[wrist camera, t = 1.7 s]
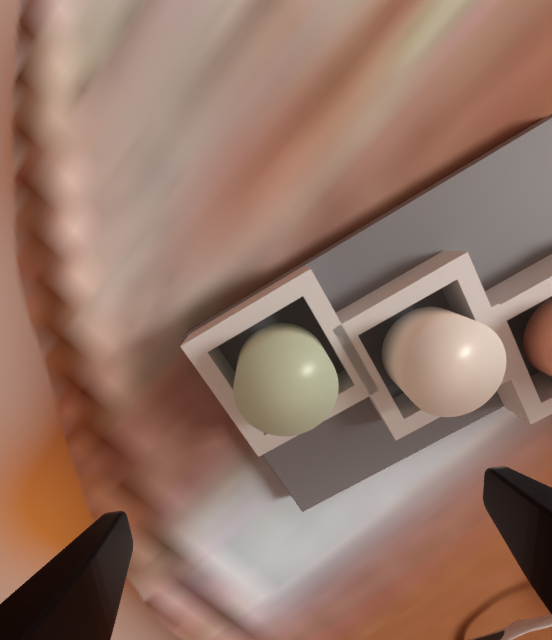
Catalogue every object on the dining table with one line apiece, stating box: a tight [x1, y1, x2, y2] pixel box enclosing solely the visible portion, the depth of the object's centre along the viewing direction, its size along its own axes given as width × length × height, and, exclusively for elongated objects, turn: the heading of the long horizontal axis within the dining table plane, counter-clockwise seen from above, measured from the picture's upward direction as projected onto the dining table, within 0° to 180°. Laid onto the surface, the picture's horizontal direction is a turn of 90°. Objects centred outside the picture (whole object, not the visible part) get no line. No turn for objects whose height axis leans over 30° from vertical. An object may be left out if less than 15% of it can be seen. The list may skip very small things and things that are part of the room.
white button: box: [382, 307, 506, 417], centre depth 15 cm, size 4×4×3 cm
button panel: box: [180, 114, 552, 512], centre depth 18 cm, size 13×22×4 cm, turn 121°
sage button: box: [233, 323, 339, 436], centre depth 15 cm, size 4×4×3 cm
